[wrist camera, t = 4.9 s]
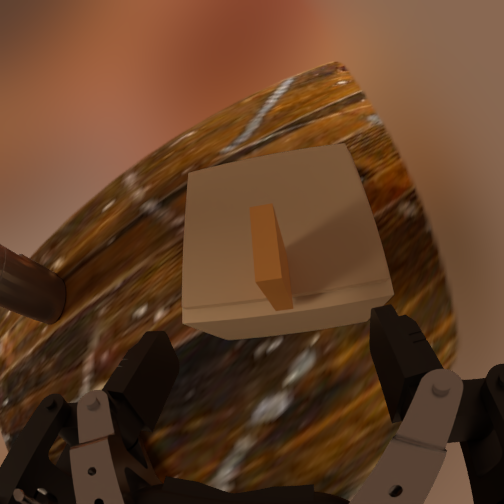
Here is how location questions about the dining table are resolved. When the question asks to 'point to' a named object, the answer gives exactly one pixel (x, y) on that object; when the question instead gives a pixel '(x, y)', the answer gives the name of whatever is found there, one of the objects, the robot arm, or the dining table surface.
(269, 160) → the tan box lid
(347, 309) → the cardboard box
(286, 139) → the dining table surface
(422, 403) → the robot arm
